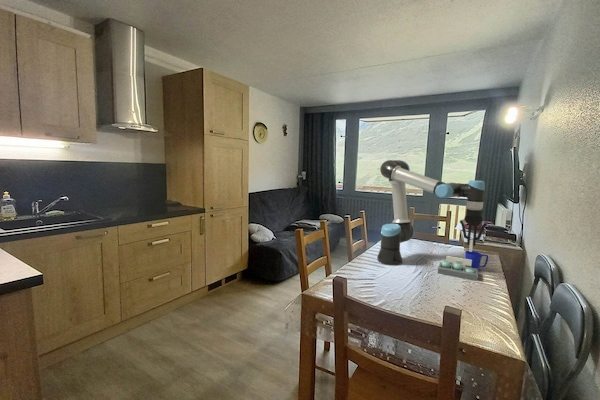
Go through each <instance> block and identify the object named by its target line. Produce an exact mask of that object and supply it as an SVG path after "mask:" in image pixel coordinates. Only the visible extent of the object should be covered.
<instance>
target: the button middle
mask: <svg viewBox="0 0 600 400" xmlns="http://www.w3.org/2000/svg"><path fill="white" fill-rule="evenodd" d="M453 269H455V270H461V271H462V264H460V263H454V265H453Z"/></svg>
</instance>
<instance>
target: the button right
mask: <svg viewBox="0 0 600 400" xmlns="http://www.w3.org/2000/svg"><path fill="white" fill-rule="evenodd" d="M465 271H466V272H472V273H475V270H473V269H470V268H466V269H465Z"/></svg>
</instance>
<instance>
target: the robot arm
mask: <svg viewBox="0 0 600 400" xmlns="http://www.w3.org/2000/svg"><path fill="white" fill-rule="evenodd" d="M379 170H380V173H381V175H382V176H383V177H384V178H386V179H388V183H390V184H391V195H392V206H393V209H392V210H393V216H394V219H393V220H392V222H391V223H386V224H383V225H382V226H381V230H380V248H379V252H378V254H377V258H376V260H377V262H379V263H380V262H381V264H383V263H384V264H383V265H390V266H398V265H401V264H403V257H402V254H401V244H402V243H405V242H408V241H410V240H411V239H413V238H414V236H415V227H414V226H413V225H412V222H411V220H410V219H409V216H408V215H409V214H408V213H409V212H408V204H407V191H406V189H407V188H406V184H407V185H410V186H412V187H415V188H418V189H420V190H423V191H426V192H428V193H431V194H433V195H436V196H437V197H438V198H439V199H449V198H455V197H456V198H457V197H458V198H466V209H465V210H466V211H465V217H464V218H463V219H460V220H459V223H460V224H461V225H460V226H461V228H462V234H463V238H464V239H467V241H466V243H467V244H466V245H467V246H468V247H469V248H468V251H469V252H472V251H473V247H475V246H476V243H477V242H476V241H479V240H480V239H481V238H482V235H483V232H484V230H485V227H487V225H488V223H487V222H485V221H484V219H483V209H484V198H485V190H486V189H485V187H486V182H485V181H484V180H475V179H474V180H472V179H471V180H469V181H468V183H458V182H457V183H456V182H443V181H440V180H439V179H435V178H431V177H428V176H425V175H422V174H419V173H417V172H413V171H410V170H411V169H410V166H409V164H408V163H407V162H406V161H404V160H400V159H399V160H398V159H397V160H396V159H395V160H394V159H390V160H389V159H388V160H386V161H383V162H382V164H381V165H380V169H379ZM465 224H467V225H468V230H467V232H466V227H465ZM479 225H481V227H480V230H479V232H478V235H477V231H478V230H477V228H478V226H479ZM472 227H473V237H472V238H471V233H472Z"/></svg>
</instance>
